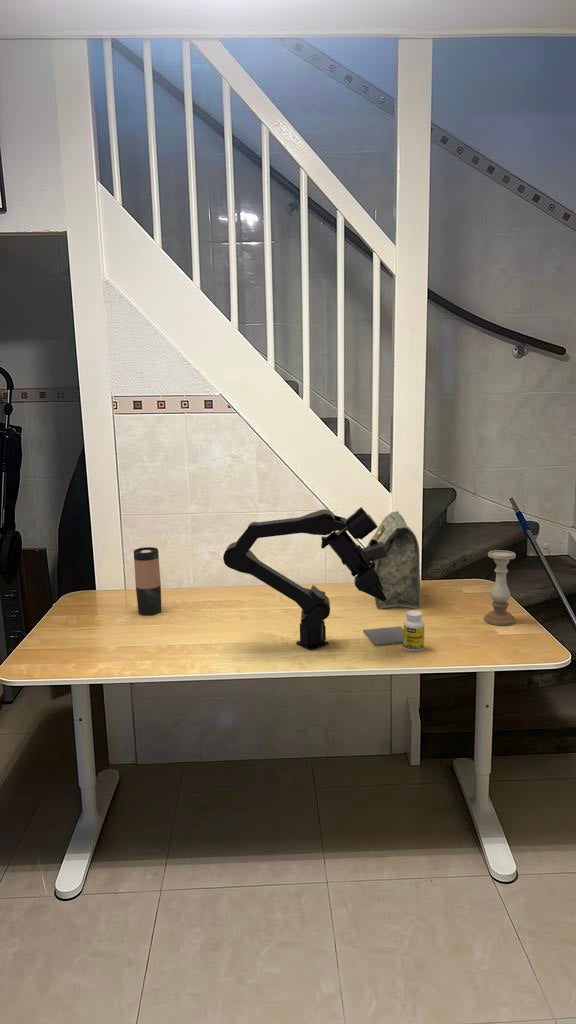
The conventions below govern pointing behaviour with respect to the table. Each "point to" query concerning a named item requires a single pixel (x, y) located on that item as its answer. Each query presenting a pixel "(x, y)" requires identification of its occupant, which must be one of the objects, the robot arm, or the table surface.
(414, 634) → the supplement bottle
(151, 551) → the travel mug
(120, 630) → the table surface
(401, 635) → the mat
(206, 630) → the table surface
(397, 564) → the bag
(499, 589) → the candle holder
